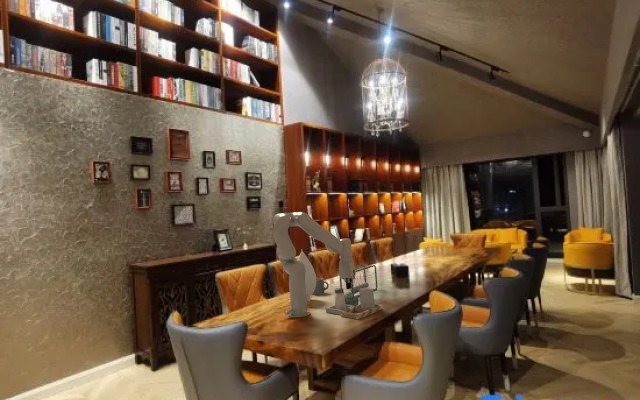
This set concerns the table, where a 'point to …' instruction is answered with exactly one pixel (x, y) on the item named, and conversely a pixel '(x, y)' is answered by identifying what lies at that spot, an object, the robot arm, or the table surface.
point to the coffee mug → (320, 286)
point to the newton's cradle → (365, 285)
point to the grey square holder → (352, 301)
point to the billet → (339, 299)
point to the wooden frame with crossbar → (360, 311)
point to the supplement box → (366, 298)
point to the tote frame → (335, 311)
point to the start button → (348, 295)
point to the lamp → (308, 275)
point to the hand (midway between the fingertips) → (349, 288)
